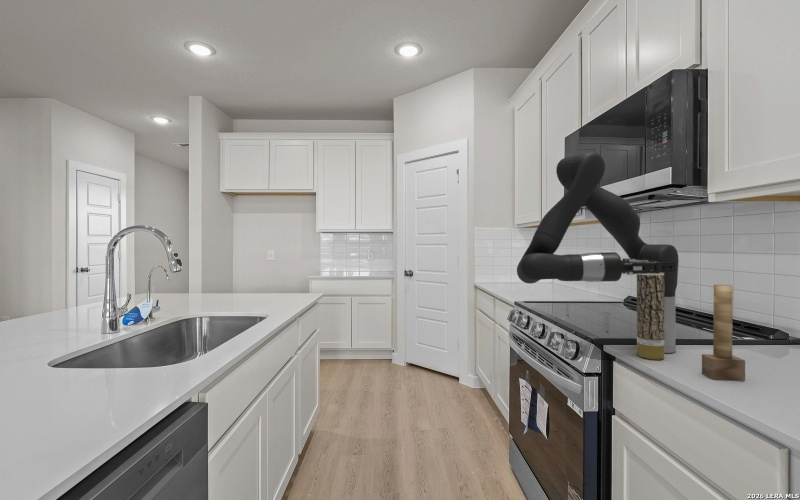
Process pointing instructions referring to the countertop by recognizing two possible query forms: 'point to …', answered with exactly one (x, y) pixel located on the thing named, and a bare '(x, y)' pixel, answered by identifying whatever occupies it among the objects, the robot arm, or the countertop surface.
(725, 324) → the dowel
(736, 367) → the wooden block
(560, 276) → the robot arm
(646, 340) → the brown bark cylinder
